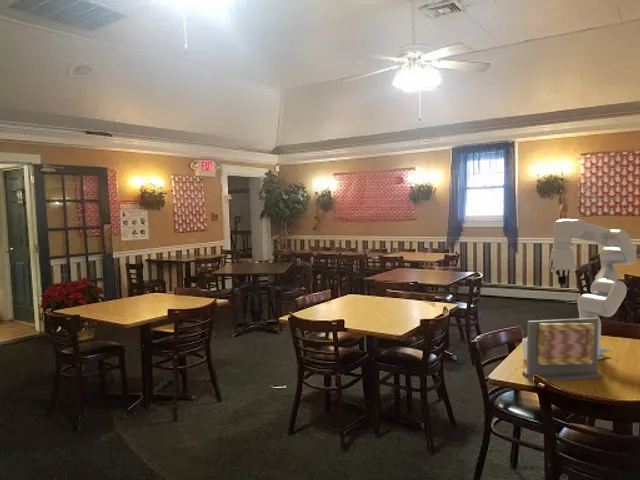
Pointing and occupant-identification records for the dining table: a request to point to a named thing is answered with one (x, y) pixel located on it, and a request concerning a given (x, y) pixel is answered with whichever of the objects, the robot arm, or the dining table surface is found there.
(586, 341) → the picture frame
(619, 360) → the dining table surface
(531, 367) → the board
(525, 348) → the white cup
